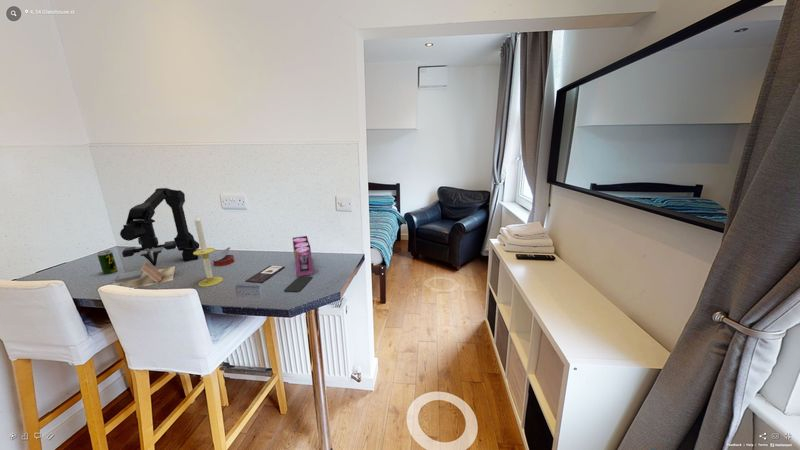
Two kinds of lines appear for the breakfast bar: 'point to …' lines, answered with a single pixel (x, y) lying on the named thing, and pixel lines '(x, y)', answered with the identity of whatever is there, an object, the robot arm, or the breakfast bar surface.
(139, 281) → the oak board
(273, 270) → the chocolate bar
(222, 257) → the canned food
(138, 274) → the slate tile
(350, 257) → the breakfast bar surface
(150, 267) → the terracotta tile
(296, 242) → the gum box
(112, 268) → the guarana soda can
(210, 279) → the candle
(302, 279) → the phone
